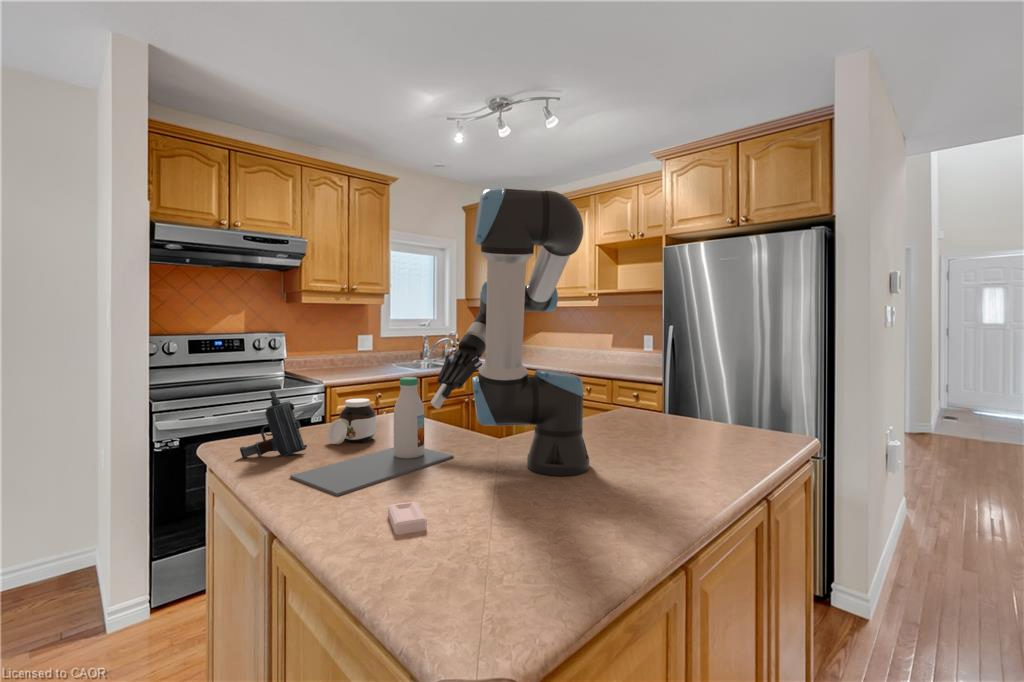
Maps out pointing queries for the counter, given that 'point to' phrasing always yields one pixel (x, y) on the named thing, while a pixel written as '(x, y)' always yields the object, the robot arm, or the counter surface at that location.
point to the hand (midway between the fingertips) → (434, 405)
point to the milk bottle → (408, 421)
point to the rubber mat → (366, 470)
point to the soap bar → (407, 518)
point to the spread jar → (354, 423)
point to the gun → (278, 431)
